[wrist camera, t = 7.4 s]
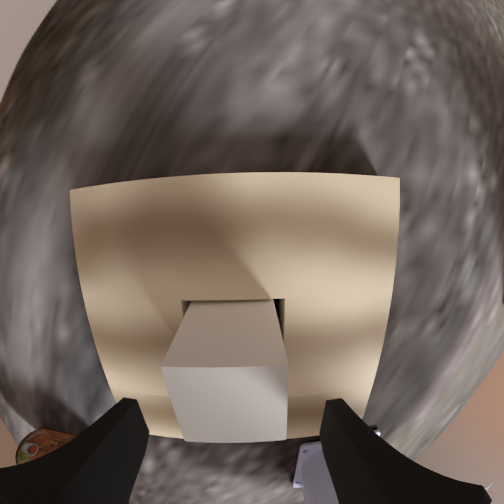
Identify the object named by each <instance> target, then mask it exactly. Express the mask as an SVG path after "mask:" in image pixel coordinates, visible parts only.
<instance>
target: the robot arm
mask: <svg viewBox="0 0 504 504" xmlns="http://www.w3.org/2000/svg"><path fill="white" fill-rule="evenodd" d="M319 434H320V440H321V441H317V442H310V443H304V444H302V445H300V448H299V454H298V459H297V465H296V470H295V475H294V480H293V487H295V488H297V487H302V490H303V496H304V502H305V504H490V503H491V501H492V500H491V498H490V496H489V495H488V493H487V492H486V490H485V489H484V487H483V486H481V485H476V484H471V483H466V482H462V481H458V480H455V479H452V478H449V477H446V476H443V475H441V474H438V473H436V472H433V471H431V470H429V469H427V468H425V467H423V466H421V465H419V464H417V463H416V462H414V461H412V460H411V459H409V458H407V457H406V456H404V455H403V454H401V453H400V452H399V451H397V450H396V449H395V448H393V447H392V446H391V445H389V444H388V443H387V442H386V441H384V440H383V439H382V438H381V437H380V431H379V430H374V431H373V430H372V429H371V428H370V427H369V426H368V425H367V424H366V423H365V422H364V421H363V420H362V419H361V418H360V417H359V416H358V415H357V414H356V413H355V412H354V411H353V410H352V409H351V407H350V406H349V405H348V404H347V403H346V402H345V401H344V400H343V399H342V398H338V399H331V400H326V403H325V408H324V413H323V418H322V423H321V427H320V432H319ZM148 437H149V429H148V427H147V424H146V422H145V419H144V417H143V414H142V411H141V409H140V406H139V403H138V401H137V399H131V398H125V397H123V398H122V399H121V400H120V401H119V402H117V403H116V404H115V405H114V406H113V407H112V408H111V409H110V410H108V411H107V412H106V413H105V414H104V415H103V416H102V417H100V418H99V419H98V420H97V421H96V422H94V423H93V424H92V425H91V426H90V427H88V428H87V429H86V430H84V431H83V432H82V433H80V434H79V435H78V436H76V437H75V438H73V439H72V440H71V441H69V442H68V443H66V444H64V445H63V446H61V447H59V448H57V449H56V450H54V451H52V452H50V453H48V454H46V455H43V456H41V457H39V458H36V459H34V460H31V461H29V462H25V463H22V464H19V465H15V466H10V467H5V468H0V504H129V499H130V495H131V491H132V489H133V486H134V483H135V480H136V477H137V474H138V472H139V469H140V466H141V463H142V460H143V458H144V455H145V452H146V447H147V442H148Z"/></svg>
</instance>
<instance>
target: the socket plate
mask: <svg viewBox="0 0 504 504" xmlns="http://www.w3.org/2000/svg"><path fill="white" fill-rule="evenodd" d="M70 206H71V220H72V230H73V239H74V247H75V254H76V261H77V267H78V273H79V279H80V284H81V289H82V294H83V299H84V303H85V307H86V312H87V316H88V320H89V324H90V327H91V331H92V335H93V338H94V342H95V345H96V348H97V351H98V355H99V358H100V361H101V364H102V367H103V369H104V372H105V375H106V378H107V381H108V383H109V386H110V389H111V391H112V394H113V396H114V399H115V401H116V403H117V402H119V401H120V400H121V399H122V398H123V397H125V398H131V399H137V401H138V403H139V406H140V409H141V411H142V414H143V417H144V419H145V422H146V424H147V427H148V429H149V434H151V435H158V436H165V437H174V438H183V439H184V437H183V435H182V432H181V429H180V426H179V424H178V421H177V418H176V415H175V412H174V409H173V406H172V403H171V399H170V396H169V393H168V390H167V386H166V383H165V379H164V376H163V372H162V369H161V365H162V363H163V361H164V359H165V356H166V354H167V352H168V350H169V348H170V345H171V343H172V341H173V339H174V337H175V335H176V332H177V330H178V328H179V326H180V324H181V322H182V320H183V318H184V316H185V313H186V311H187V309H188V307H189V305H190V303H191V301H192V300H255V299H279V326H280V330H281V334H282V338H283V342H284V347H285V351H286V355H287V360H288V405H287V431H286V439H291V438H301V437H309V436H317V435H320V434H319V432H320V427H321V423H322V418H323V413H324V408H325V403H326V400H331V399H338V398H342V399H343V400H344V401H345V402H346V403H347V404H348V405H349V406H350V407H351V409H352V410H353V411H354V412H355V413H356V414H357V415H358V416H359V417H360V418H361V419H362V418H363V415H364V412H365V409H366V406H367V402H368V399H369V396H370V392H371V389H372V386H373V382H374V378H375V375H376V371H377V367H378V363H379V359H380V355H381V350H382V346H383V341H384V337H385V332H386V327H387V321H388V316H389V310H390V304H391V298H392V291H393V283H394V275H395V267H396V257H397V245H398V230H399V206H400V178H394V177H383V176H371V175H356V174H338V173H309V172H250V173H221V174H202V175H187V176H174V177H163V178H152V179H143V180H134V181H126V182H118V183H110V184H103V185H96V186H90V187H84V188H78V189H72V190H70Z"/></svg>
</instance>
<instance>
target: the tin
mask: <svg viewBox="0 0 504 504" xmlns="http://www.w3.org/2000/svg"><path fill="white" fill-rule="evenodd" d="M76 436H78V435H72V434H67V433H62V432H58V431H53V430H50V429H38V430H35V431H33V432H31V433H29V434H28V435H27V436H26V437H25V438H24V439H23V440H22V441H21V442H20V444H19V446H18V448H17V451H16V464H17V465H19V464H22V463H25V462H29V461H31V460H34V459H36V458H39V457H41V456H43V455H46V454H48V453H50V452H52V451H54V450H56V449H57V448H59V447H61V446H63V445H64V444H66V443H68V442H69V441H71V440H72V439H73V438H75V437H76Z"/></svg>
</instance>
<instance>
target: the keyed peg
mask: <svg viewBox="0 0 504 504" xmlns="http://www.w3.org/2000/svg"><path fill="white" fill-rule="evenodd" d="M161 369H162V372H163V376H164V379H165V383H166V386H167V390H168V393H169V396H170V399H171V403H172V406H173V409H174V412H175V415H176V418H177V421H178V424H179V426H180V429H181V432H182V435H183V437H184V440H185V441H190V442H211V443H245V442H266V441H279V440H286V431H287V405H288V360H287V355H286V351H285V347H284V342H283V338H282V334H281V330H280V326H279V321H278V317H277V313H276V309H275V305H274V300H273V299H255V300H192V301H191V303H190V305H189V307H188V309H187V311H186V313H185V316H184V318H183V320H182V322H181V324H180V326H179V328H178V330H177V332H176V335H175V337H174V339H173V341H172V343H171V345H170V348H169V350H168V352H167V354H166V356H165V359H164V361H163V363H162V365H161Z"/></svg>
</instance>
